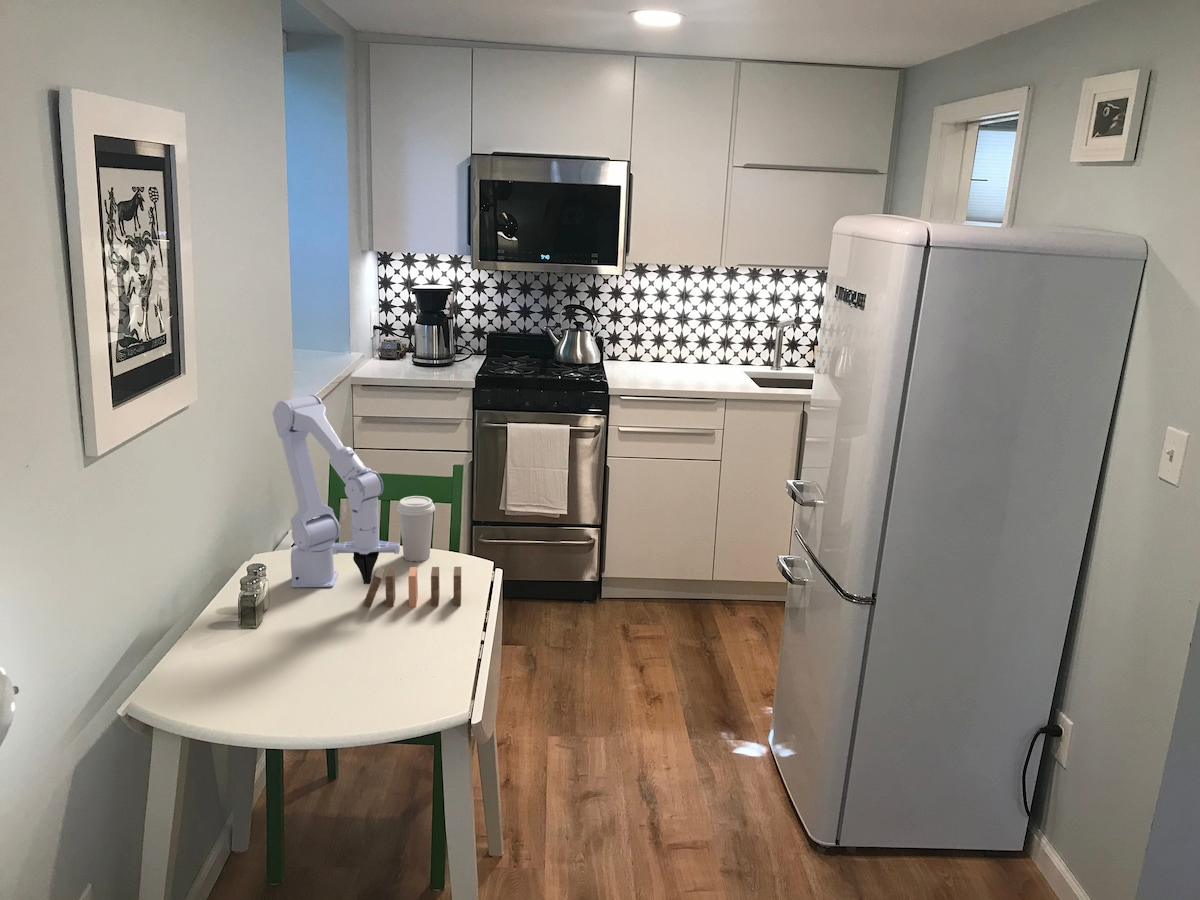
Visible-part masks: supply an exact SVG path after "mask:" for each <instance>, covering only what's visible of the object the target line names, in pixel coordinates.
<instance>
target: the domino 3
mask: <svg viewBox="0 0 1200 900" xmlns="http://www.w3.org/2000/svg"><path fill="white" fill-rule="evenodd" d="M407 577H408V607H410V608H414V607H417V604H418V597H419V595H418V594H419V593H418V591H419V590H418V567H417V566H410V567H409V571H408V575H407Z"/></svg>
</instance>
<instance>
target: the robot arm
mask: <svg viewBox="0 0 1200 900" xmlns="http://www.w3.org/2000/svg"><path fill="white" fill-rule="evenodd" d="M272 417H273V420H274V425H275V429H276V432H277V435H278V438H280V440H281V445H282V447H283V451H284V455H285V459H286V464H287V466H288V470H289V475H290V478H291V482H292V486H293V490H294V495H295V499H296V502H297V506H298V510H297V511H296V512H295V513H294V515H293V516H292V517H291V519H290V523H291V538H292V542H293V543H294V545H293V546H292V547H291V553H290V569H291V573H290V574H291V588H333V587H334V585H335V582H336V580H337V577H338V574H339V572H338V571H335V566H334V555H338V554H353V558H352V559H353V561H354V564H356V566H357V568H358V570H359V572H360V576H361V577H362V581H363V585H371V582H372V577H373V575H372V574H373V571H374V568H375V564H376V563H377V561H378V557H379V555H380V554H382V553H383V554H385V553H387V554H388V553H390V554H392V553H393V554H395V555H398V554H400V551H401V543H400V542H394V541H393V542H392V541H384V540H380V528H379V527H380V525H379V524H380V523H379V522H380V521H379V497H378V496H381V495H382V494H383V492H384V481H383V479H382V477H381V476H380V474H379V473H378V471H376V470H373V469H371V468H370V467H366V465H365V464H364V463H363V461H362V460H361V459H360V457H359V456H358V455H357V453H356V452H355V451H354V450H353V448H352V447H350V446H344V444H343V442H342V441H341V440H340V438H339V436H338V435H337V433H336V432H335V430H334V428H333V427H332V425H331V423H330V422H329V420H328V419H327V408H326V406H325V405H324V403H323V401H322V399H321V398H320V397H319V396H317V395H316V394H310V395H308V396H303V397H298V398H292V399H287V400H280V401H278V402H276V404H275V405H274V408H273V411H272ZM309 433H310V434H311V435H312V437H314V439H316V440H317V442H318V443H319V444H320V445H321V446H322V447H323V449H325V451H326V452H327V453H328V454H329V455H330V457H329V464H330V465H331V467H332V468H333V469H334V471H335V472H336V474H337V475H338V477H339V478H340V479H341V480H342V481H343V483H344V484H345V486H344V492H345V495H346V497H347V499H348V506H349V508H350V509H351V526H352V527H351V530H352V533H351V534H352V541H344V542H336V540H337V539H338V538H339V536H340V532H341V527H340V526H341V525H340V523H339V521H338V519H337V518H336V515H335V513H334V509H333V508H332V507H330V506H328V505H326V504H324V503H322V497H321V494H320V489H319V486H318V482H317V478H316V474H315V469H314V466H313V462H312V458H311V455H310V450H309V446H308V443H307V437H308V435H309Z"/></svg>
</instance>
